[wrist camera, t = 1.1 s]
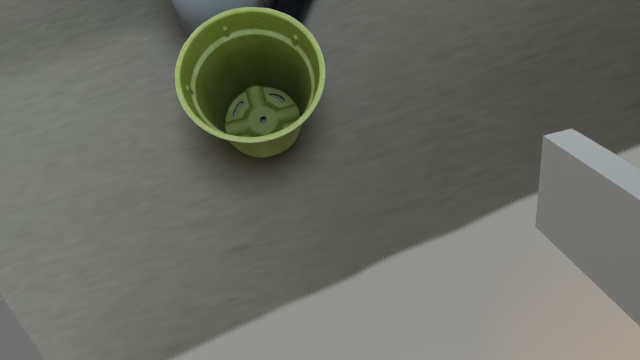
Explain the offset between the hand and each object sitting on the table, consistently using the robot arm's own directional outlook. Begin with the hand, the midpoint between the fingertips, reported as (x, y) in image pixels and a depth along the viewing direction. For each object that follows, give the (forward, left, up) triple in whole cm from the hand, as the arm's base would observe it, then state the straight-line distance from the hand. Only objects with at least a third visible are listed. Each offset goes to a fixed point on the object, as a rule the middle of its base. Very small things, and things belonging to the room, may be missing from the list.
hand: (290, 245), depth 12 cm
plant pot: (0, -13, -25) cm, 28 cm away
